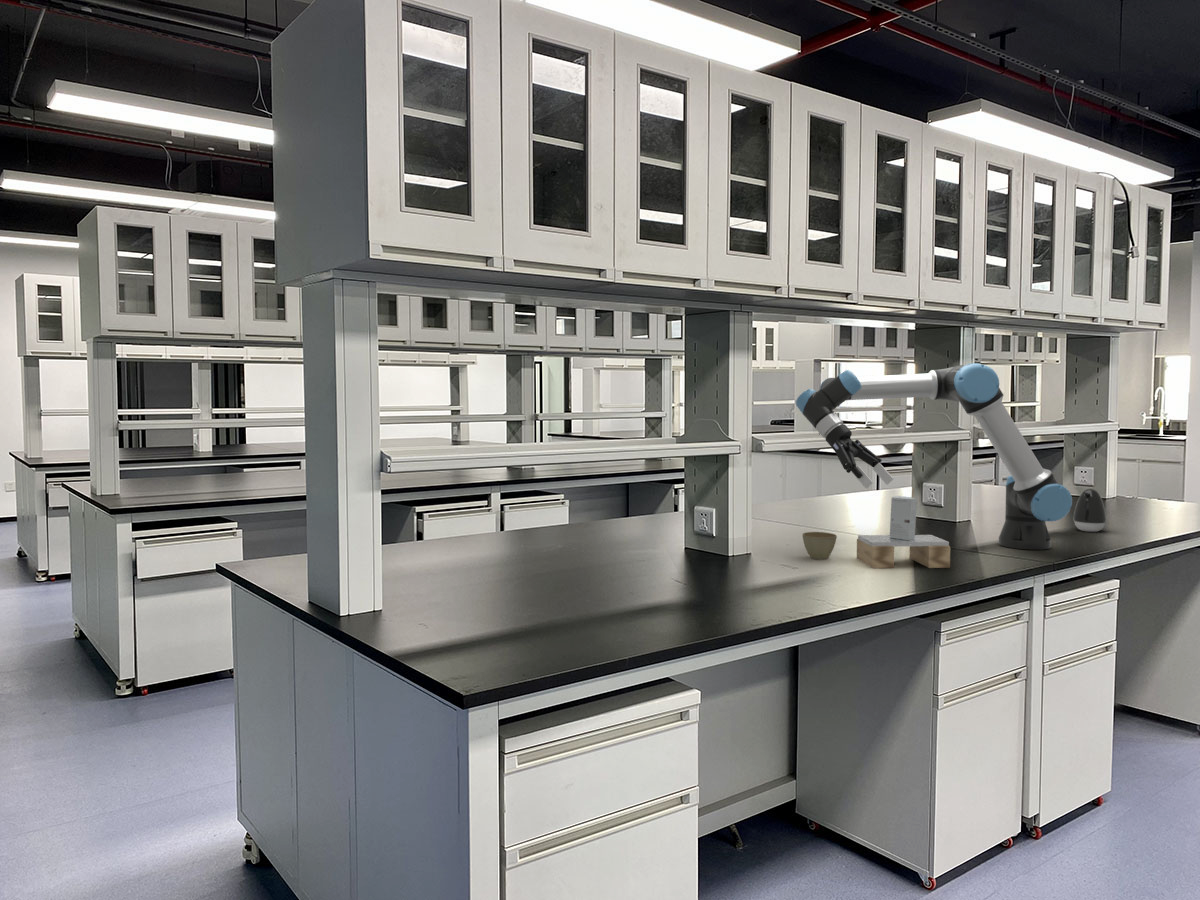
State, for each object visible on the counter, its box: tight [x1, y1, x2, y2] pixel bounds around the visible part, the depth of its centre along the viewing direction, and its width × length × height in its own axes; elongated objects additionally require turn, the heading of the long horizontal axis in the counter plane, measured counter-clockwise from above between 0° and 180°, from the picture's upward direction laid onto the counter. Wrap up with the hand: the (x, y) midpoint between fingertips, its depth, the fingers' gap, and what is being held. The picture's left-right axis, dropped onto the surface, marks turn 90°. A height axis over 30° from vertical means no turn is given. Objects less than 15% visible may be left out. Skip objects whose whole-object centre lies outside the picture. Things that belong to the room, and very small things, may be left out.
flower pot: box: [802, 531, 838, 561], centre depth 249 cm, size 10×10×7 cm
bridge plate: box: [857, 534, 950, 547], centre depth 241 cm, size 22×12×1 cm, turn 91°
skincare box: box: [889, 495, 918, 540], centre depth 241 cm, size 6×4×12 cm
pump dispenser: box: [1072, 488, 1107, 533], centre depth 298 cm, size 10×10×15 cm
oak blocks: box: [856, 538, 951, 569], centre depth 241 cm, size 22×14×6 cm, turn 91°
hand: (880, 483), depth 245 cm, fingers open, 13 cm apart
